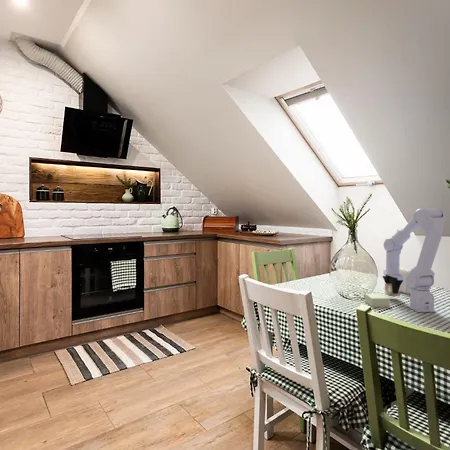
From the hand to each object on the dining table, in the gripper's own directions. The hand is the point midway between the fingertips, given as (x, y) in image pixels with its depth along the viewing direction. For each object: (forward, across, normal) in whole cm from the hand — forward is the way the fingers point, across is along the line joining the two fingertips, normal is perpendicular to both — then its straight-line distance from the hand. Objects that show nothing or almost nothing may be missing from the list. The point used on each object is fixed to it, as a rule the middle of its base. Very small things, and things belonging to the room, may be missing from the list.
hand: (392, 292), depth 168 cm
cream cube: (+2, 0, 0) cm, 2 cm away
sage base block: (+4, +8, -11) cm, 14 cm away
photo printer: (+3, -14, +12) cm, 19 cm away
